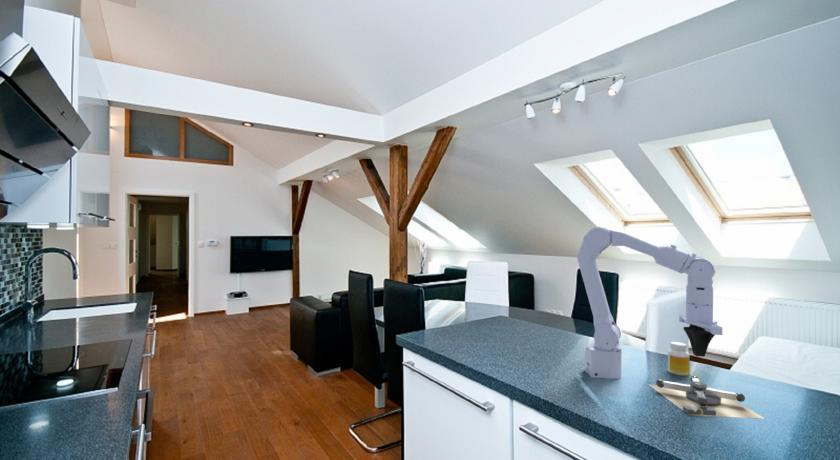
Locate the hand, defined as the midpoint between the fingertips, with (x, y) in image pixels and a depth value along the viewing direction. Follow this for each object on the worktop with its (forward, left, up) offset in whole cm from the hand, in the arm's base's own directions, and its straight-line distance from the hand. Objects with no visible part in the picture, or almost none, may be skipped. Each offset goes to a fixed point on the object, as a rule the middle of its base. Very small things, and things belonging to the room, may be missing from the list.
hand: (699, 355), depth 101 cm
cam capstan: (-3, -5, -9) cm, 11 cm away
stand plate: (-3, -6, -10) cm, 12 cm away
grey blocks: (-8, -14, -9) cm, 18 cm away
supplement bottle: (+3, +14, -11) cm, 18 cm away
